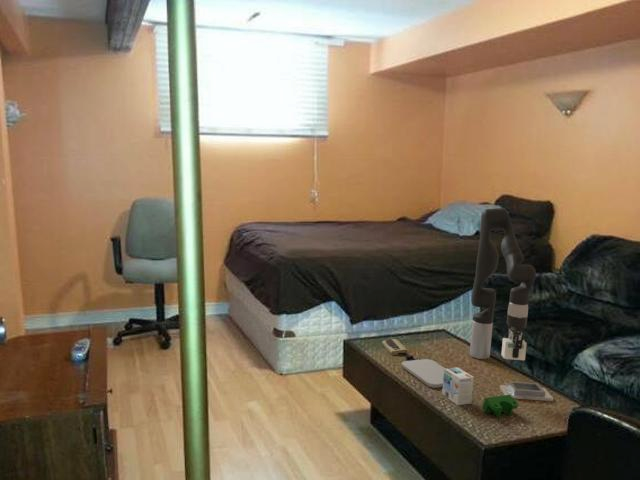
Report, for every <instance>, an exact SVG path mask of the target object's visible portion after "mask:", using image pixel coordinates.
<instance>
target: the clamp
mask: <svg viewBox="0 0 640 480" xmlns="http://www.w3.org/2000/svg"><path fill="white" fill-rule="evenodd" d="M518 407H519V402H518V401H517V399H514V398H513V397H512V396H511V395H504V394H503V395H496V396H491V397H488V396H487V397H485V398H484V401H483V405H482V411H483V412H484V413H485V414H492V413H493V414H494V415H495V416H496V417H497V418H500V417H501V415H502V412H503V413H506V414H507V415H508V416H509V417H510V416H512V413H513V410H517V409H518Z"/></svg>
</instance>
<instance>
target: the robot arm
mask: <svg viewBox="0 0 640 480" xmlns="http://www.w3.org/2000/svg"><path fill="white" fill-rule="evenodd" d="M495 230H503V232H504V234H503V235H504V236H503V239H502V241H501V244H500V251H501V254H502V256H503V258H504V260H505V264H506V274H507V275H506V276H507V278H508V279H509V281H511V282H512V283H520V284H519V286H515V287H512V288H511V289H510V290H509V291H510V293H509V301H508V307H507V314H506V325H507V327H508V328H507V330H508V331H507V332H508V333H507V334H508V335H507V338H509V339H512V342H513V353H512V357H513V358H518V356H519V349H521V348H522V342H523V340H524V335H523V331H522V329H524V328H525V329H526V327H527V324H528V315H529V314H528V313H529V300H530V298H529V297H530V292H531V291H532V288H533V285H534V283H535V280H536V277H537V271H536V268H535V266H533V265H531V264H523V262H524V261H525V257H524V254H523V252H522V250H521V248H520V246H519V244H518V242H517V239H516V235H515V230H514V228H513V223H512V220H511V216H510V214H509V212H508V211H507V209H505V208H504V207H503V208H501V207H500V208H499V207H496V208H487V209H486V208H485V209H483V210H482V212H481V216H480V231H479V244H478V249H477V251H478V252H477V256H476V264H475V265H476V266H475V275H474V282H473V287H472V291H471V298H470V302H471V305H472V306H473V307H475V308H476V307H477V308H484V310H482V311H479V312H475V313H474V314H473V315H472V325H471V335H470V336H471V337H470V345H469V346H470V347H469V356H470V357H472V358H474V359H479V360H488V359H490V358H491V357H490V356H491V348H492V347H491V345H492V336H493V335H492V334H493V324H494V314H495V306H496V299H497V292H496V289H494V288H490V287H489V288H488V287H483V284H484V283H485V282H486V281H487V280H488V279H489V278H490V277H491V276H492V275H493V274H494V273H495V272H496V270H497V268H498V265H499V259H500V258H499V257H500V254H499V251H498V249H497V247H496V245H495V244H494V243H493V241H492V239H491V231H495ZM517 344H518V346H517ZM487 358H488V359H487Z"/></svg>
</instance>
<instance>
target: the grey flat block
mask: <svg viewBox="0 0 640 480" xmlns="http://www.w3.org/2000/svg"><path fill="white" fill-rule="evenodd" d="M499 389H500V391H501V392H502V393H503V395H511V396H512V397H513V398H514V399H515V400H517V399H518V400H519V399H520V400H534V401H543V402H544V401H545V402H546V401H547V402H553V401H554V397H553V396H552V395H551V393H549V392H548V390H547V389H546V388H545V387H542V386H541V385H540V384H539V383H538V382H526V381H525V382H524V381H512V380H511V381H510V380H509V381H508V384H507V385H506V384H505V385H504V384H499Z"/></svg>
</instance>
